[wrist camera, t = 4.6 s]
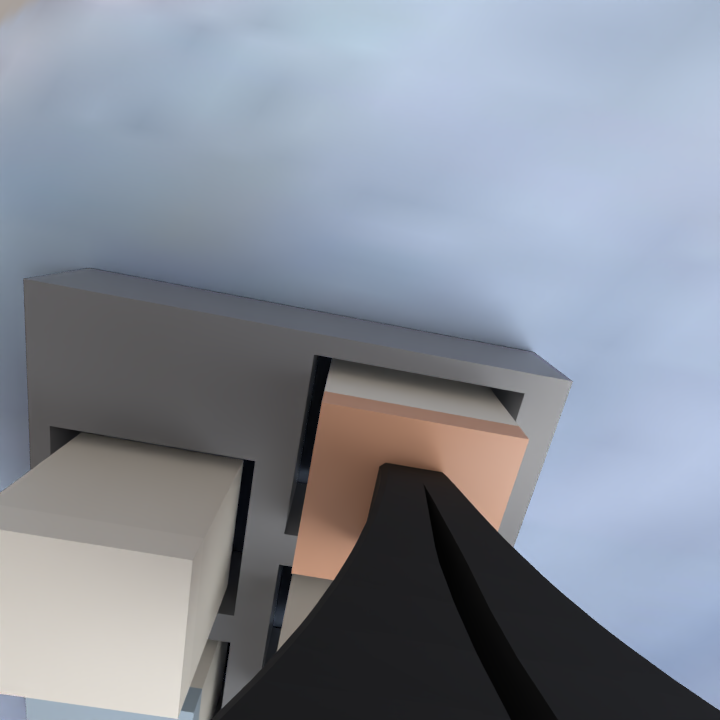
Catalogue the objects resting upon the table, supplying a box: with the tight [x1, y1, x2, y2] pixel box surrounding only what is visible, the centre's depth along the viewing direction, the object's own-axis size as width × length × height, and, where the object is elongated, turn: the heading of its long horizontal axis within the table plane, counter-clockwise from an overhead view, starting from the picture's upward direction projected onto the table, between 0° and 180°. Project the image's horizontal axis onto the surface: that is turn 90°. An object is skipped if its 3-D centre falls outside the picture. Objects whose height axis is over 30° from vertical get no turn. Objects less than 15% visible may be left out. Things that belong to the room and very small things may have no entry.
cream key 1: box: [0, 432, 244, 719], centre depth 10 cm, size 4×4×4 cm
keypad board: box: [23, 268, 573, 717], centre depth 14 cm, size 18×12×2 cm
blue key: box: [25, 639, 228, 720], centre depth 13 cm, size 4×4×4 cm
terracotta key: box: [291, 358, 529, 580], centre depth 11 cm, size 4×4×4 cm
